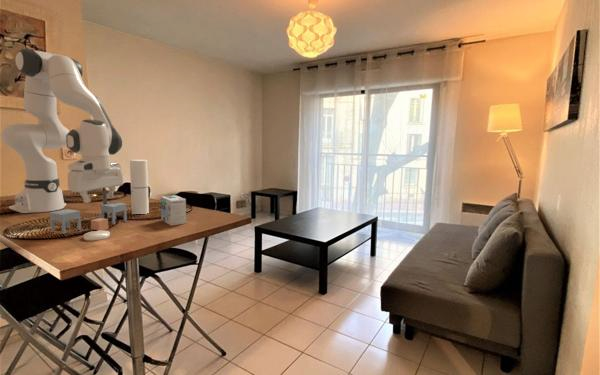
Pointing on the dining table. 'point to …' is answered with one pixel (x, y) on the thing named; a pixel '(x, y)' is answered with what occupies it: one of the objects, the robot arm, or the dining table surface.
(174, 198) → the light bulb box
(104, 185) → the robot arm
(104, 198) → the balance
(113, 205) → the cover high
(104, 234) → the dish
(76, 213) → the cover low
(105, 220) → the block
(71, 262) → the dining table surface
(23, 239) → the dining table surface
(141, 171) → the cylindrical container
